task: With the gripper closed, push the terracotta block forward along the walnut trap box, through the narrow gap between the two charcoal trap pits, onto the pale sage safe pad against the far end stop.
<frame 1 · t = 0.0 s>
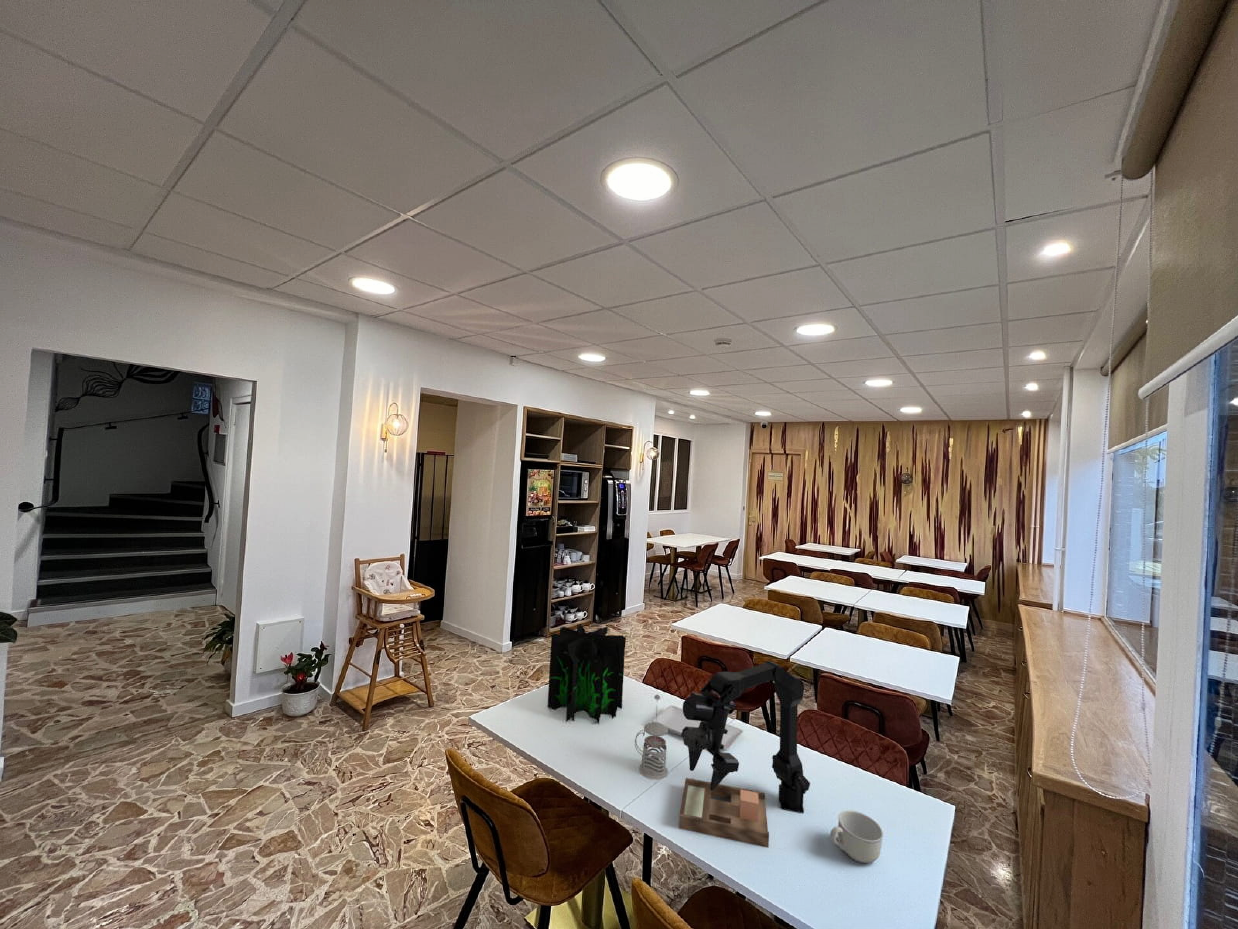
hand: (701, 780, 135), 15 cm above the table, tool pointing down, fingers open, 9 cm apart
french press: (650, 770, 165), on the table
block: (748, 814, 143), point 2 cm above the table, touching trap box
teacup: (853, 854, 132), on the table
tray: (696, 734, 190), on the table
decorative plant: (584, 707, 206), on the table
trap box: (723, 816, 144), on the table
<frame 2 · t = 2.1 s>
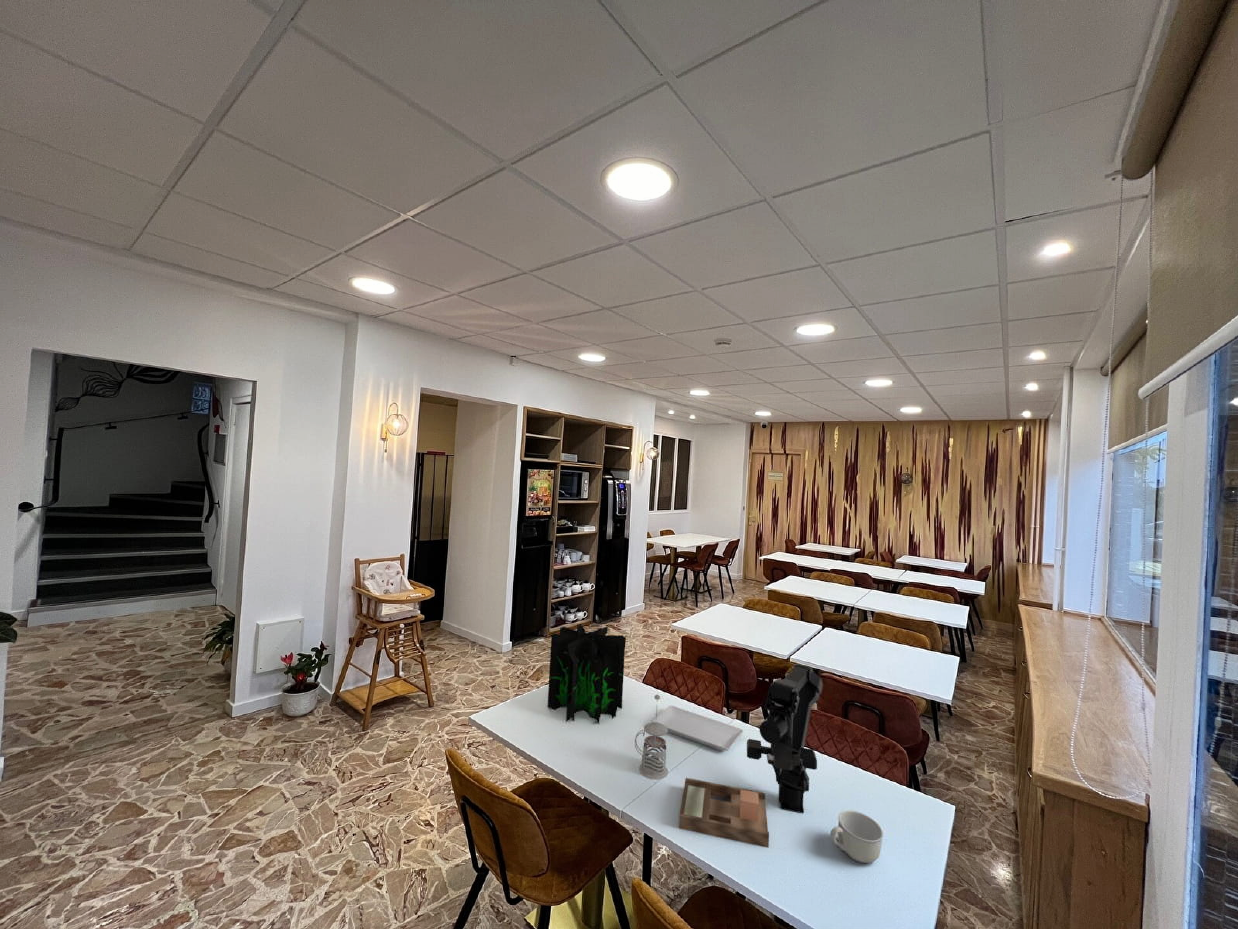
hand: (779, 783, 141), 12 cm above the table, tool pointing down, fingers closed
nothing on the table moved.
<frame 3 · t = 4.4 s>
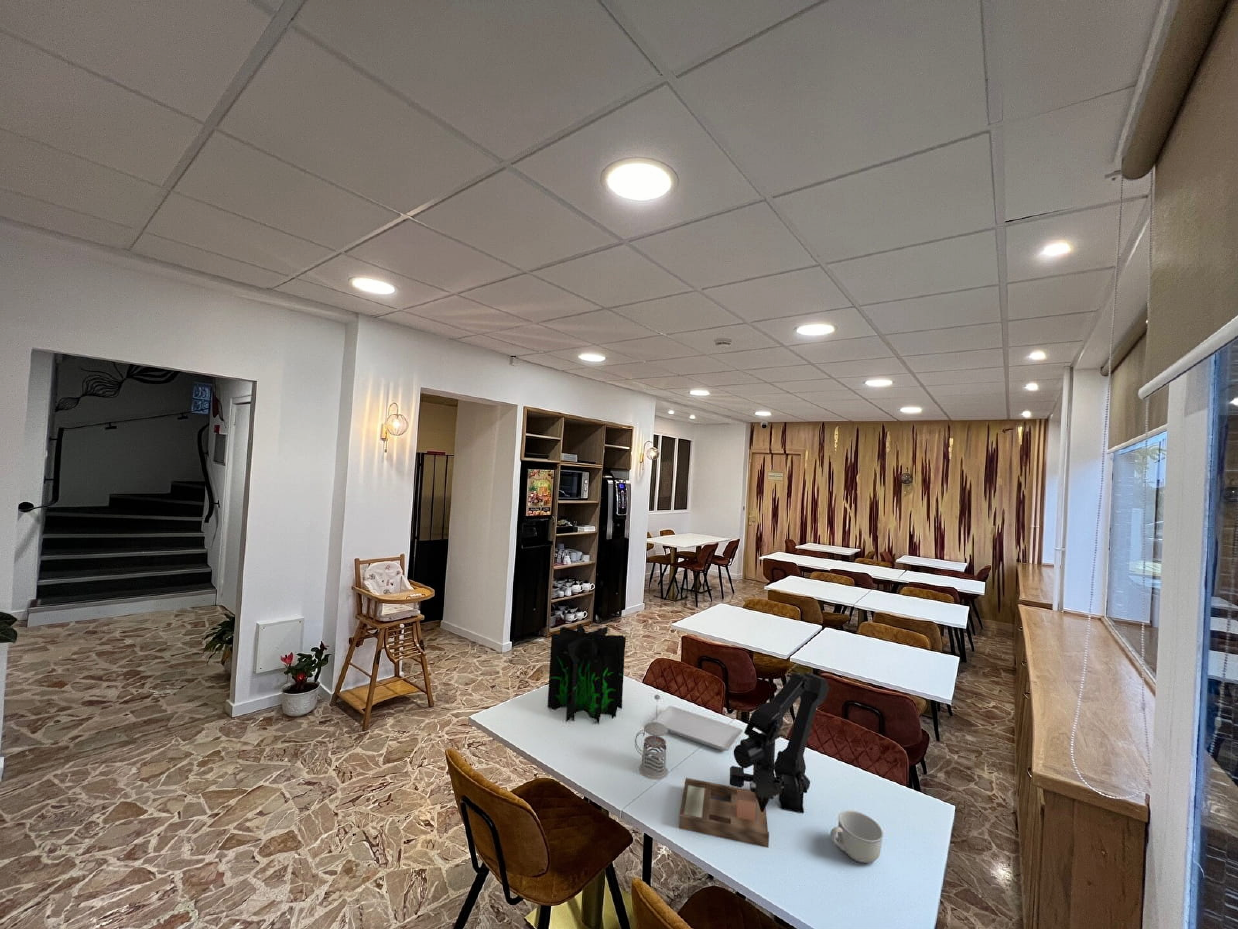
hand: (761, 811, 142), 4 cm above the table, tool pointing down, fingers closed
block: (745, 813, 143), point 2 cm above the table, touching gripper, trap box
everything else where it was.
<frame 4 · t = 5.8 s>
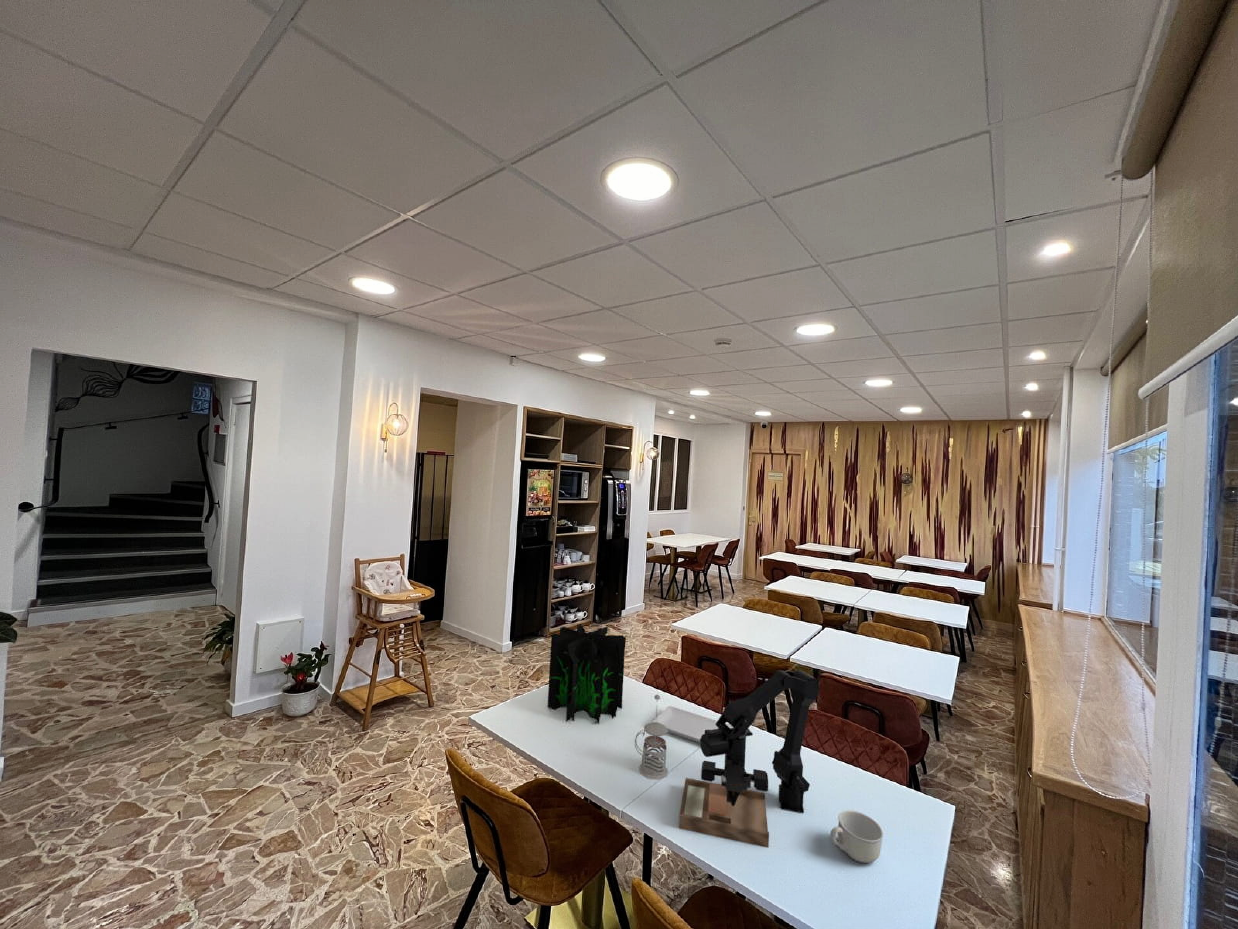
hand: (733, 805, 143), 4 cm above the table, tool pointing down, fingers closed
block: (717, 808, 144), point 2 cm above the table, touching gripper
everything else where it was.
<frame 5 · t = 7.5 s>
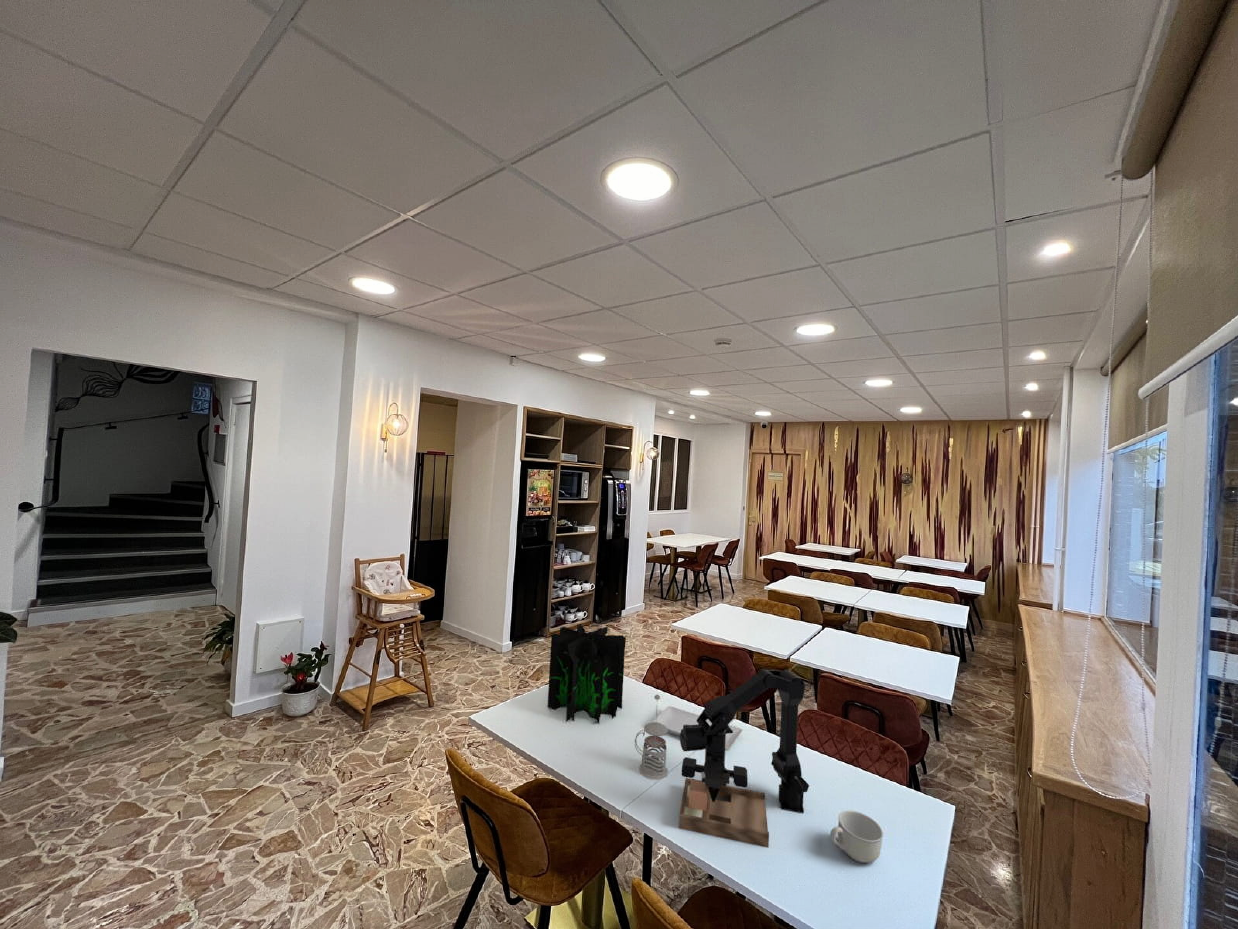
hand: (713, 801, 145), 4 cm above the table, tool pointing down, fingers closed
block: (697, 803, 146), point 2 cm above the table, touching gripper, trap box
everything else where it was.
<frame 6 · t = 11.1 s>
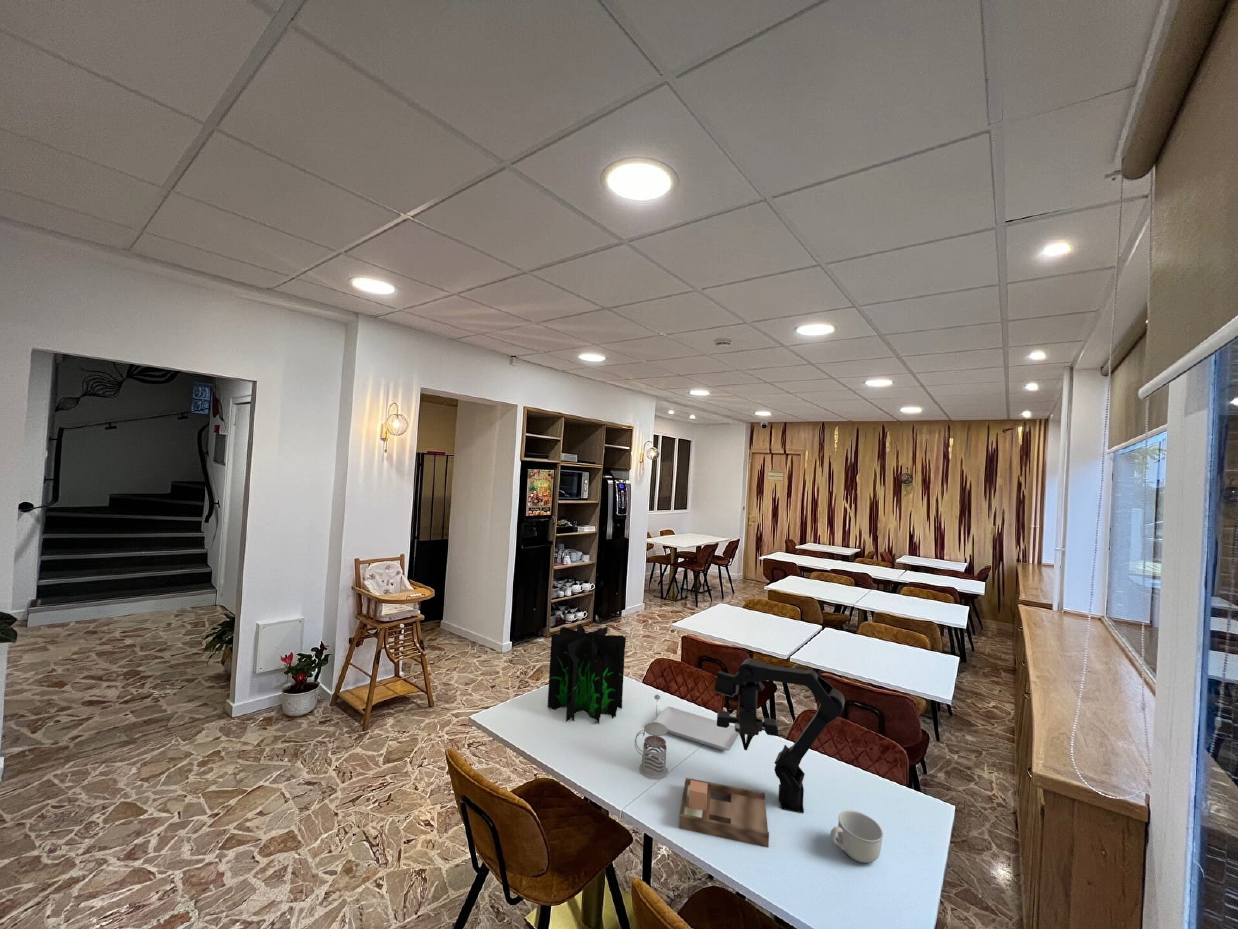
hand: (745, 749, 158), 12 cm above the table, tool pointing down, fingers closed
block: (697, 803, 146), point 2 cm above the table, touching trap box
everything else where it was.
at the end: block inside the target area on the trap box (0.2 cm from its centre), point 2.0 cm above the trap box's base; block tilted 0° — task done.
